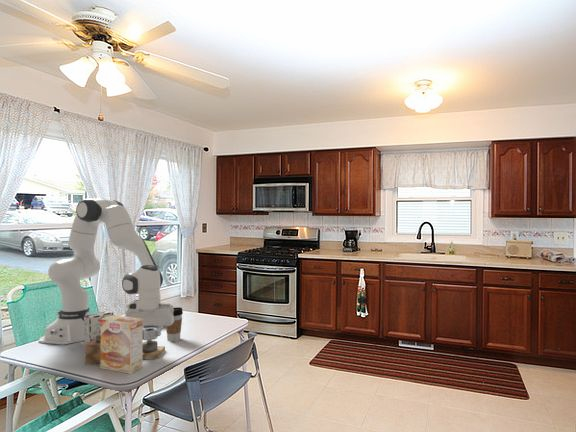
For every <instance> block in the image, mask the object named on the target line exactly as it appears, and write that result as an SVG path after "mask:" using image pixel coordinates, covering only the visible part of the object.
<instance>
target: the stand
mask: <svg viewBox="0 0 576 432" xmlns="http://www.w3.org/2000/svg"><path fill="white" fill-rule="evenodd" d="M84 365H85V366H87V365H89V366H91V365H93V366H96V365H97V366H101V335H97V336H96V339H94V340H92V341H90V342H89V343H87V344H85V347H84Z"/></svg>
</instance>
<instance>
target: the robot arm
mask: <svg viewBox="0 0 576 432" xmlns="http://www.w3.org/2000/svg"><path fill="white" fill-rule="evenodd" d="M75 213H76V215H75V216H74V219H73V222H72V225H71V228H70V234H69V237H68V242H67V244H68V247H69V248H70V249H71V250H72V251H73V257H72V258H64V259H60V260H57V261H55V262H53V263H51V264H50V265H49V267H48V277H49V279H50V280H51V282H53V283H55V284H56V285H57V286H58V288H59V290H60V293H61V302H62V303H61V304H62V306H61V307H62V308H61V309H60V310H59V311H58V312H57V313H56V316H58V318H56V320H55V319H54V321H52V322H51V323H50V324H49V325H47V326H46V328H45V329H44V330H45V331H44V335H43V336H41V337H39V339H38V343H41V344H42V343H43V344H52V345H53V344H54V345H55V344H56V345H63V346H64V345H68V344H71V343H73V344H74V343H78V342H82V341H84V316H87V315H90V307H89V291H88V290H87V289H86V288H83V287H82V285H81V280H85V279H90V278H92V277H94V276H95V275H97V274H99V272H100V270H101V263H100V261H99V259H98V258H97V257H96V255H95V243H96V239H97V238H96V237H97V234H98V229H99V225H100V224H103V223H104V225H105V227H106V231H107V235H108V239H109V241H110V242H111V244H112V245H113V246H115V247H117V248H119V249H123V250H126V251H129V252H131V253H133V254H134V255H136V256H137V258H138V261H139V263H140V265H141V266H140V267H139V268H138V269H137V270H135V271H131V272H129V273H126V274H125V275H124V276H123V278H122V281H121V287H122V289H123V291H124V292H125V293H126V294H127V295H138V299H135V300H134V301H131V302H130V303H128V304H127V305H126V309H127V310H126V311H125V315H124V316H126V317H133V318H141V319H142V327H143V326H144V327H147V326H148V327H158V331H157V332H156V336H158V337H161V335H162V330H163V328H164V327H166V326H171V325H172V324H173V323H174V316H173V312H174V308H175V307H174V306H173V305H172V304H171V303H161V293H160V289H161V287H162V285H163V281H164V277H163V274H162V271H160V269H159V267H158V266H157V265H156V263H155V260H154V258H153V256H152V254H151V251H150V249H149V247H148V245H147V243H146V242H145V240H144V239H143V238H142V237H141V236H139V234H138V233H137V231H136V229H135V227H134V223H133V221H132V219H131V216H130V214H129V213H128V210H127V208H126V207H125V206H124V204H123V203H122V202H120V201H118V200H114V199H113V200H111V199H106V198H84V199H81V200H80V201H78V203H77V205H76V208H75Z"/></svg>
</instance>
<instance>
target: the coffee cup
mask: <svg viewBox="0 0 576 432" xmlns="http://www.w3.org/2000/svg"><path fill="white" fill-rule="evenodd" d="M183 314H184V312H183V308H182V307H179V306H178V307H174V312H173V316H174V323H173V324H172V325H171V326H165V328H166V340H167V342H172V343H174V342H177V341H180V340H181V332H182V322H183Z"/></svg>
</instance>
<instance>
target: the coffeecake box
mask: <svg viewBox="0 0 576 432" xmlns="http://www.w3.org/2000/svg"><path fill="white" fill-rule="evenodd" d="M142 330H143V326H142V319H141V318H133V317H126V316H125V315H118V314H117V315H116V314H113V315H112V316H108V317H104V318H102V319H101V365H100V367H99V369H104V370H108V371H114V372H119V373H123V374H124V373H125V374H129V375H131V374H133V373H134V372H136V371H138V370H140V369H142V368H143V359H142V343H143V340H142Z"/></svg>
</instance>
